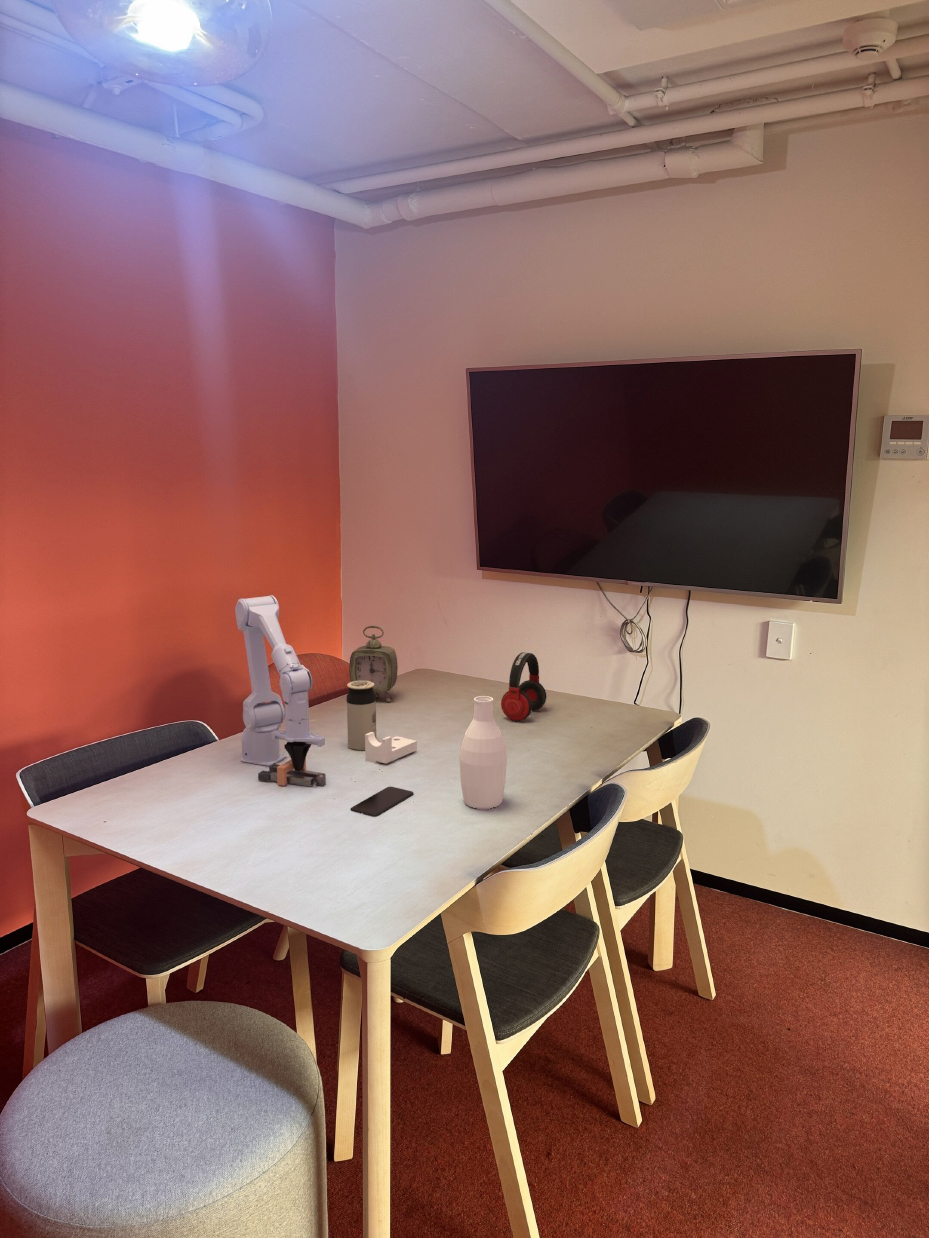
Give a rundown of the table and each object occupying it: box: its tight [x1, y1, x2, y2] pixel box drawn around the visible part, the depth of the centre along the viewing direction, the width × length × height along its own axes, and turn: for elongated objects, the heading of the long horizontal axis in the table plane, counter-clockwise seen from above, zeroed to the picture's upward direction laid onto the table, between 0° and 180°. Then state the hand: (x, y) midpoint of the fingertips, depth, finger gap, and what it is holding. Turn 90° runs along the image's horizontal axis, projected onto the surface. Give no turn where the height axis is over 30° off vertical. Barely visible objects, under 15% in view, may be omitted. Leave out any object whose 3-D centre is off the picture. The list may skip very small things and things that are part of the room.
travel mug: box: [346, 681, 377, 751], centre depth 242 cm, size 8×8×18 cm
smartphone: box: [350, 786, 414, 818], centre depth 205 cm, size 8×1×16 cm
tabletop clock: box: [348, 625, 399, 703], centre depth 286 cm, size 14×9×25 cm, turn 81°
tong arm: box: [257, 770, 315, 787], centre depth 216 cm, size 14×2×2 cm, turn 71°
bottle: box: [459, 695, 508, 810], centre depth 203 cm, size 11×11×25 cm
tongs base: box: [268, 763, 327, 788], centre depth 219 cm, size 17×4×3 cm, turn 67°
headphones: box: [500, 651, 547, 722], centre depth 270 cm, size 18×10×20 cm, turn 153°
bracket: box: [364, 732, 418, 765], centre depth 235 cm, size 13×7×8 cm, turn 144°
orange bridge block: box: [276, 759, 307, 787], centre depth 218 cm, size 2×10×4 cm, turn 156°
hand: (299, 769), depth 217 cm, fingers closed
